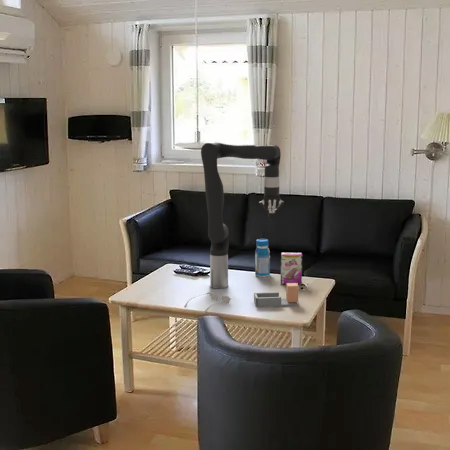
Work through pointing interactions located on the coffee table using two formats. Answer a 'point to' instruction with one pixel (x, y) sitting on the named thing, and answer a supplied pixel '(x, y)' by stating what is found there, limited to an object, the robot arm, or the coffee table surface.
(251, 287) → the coffee table surface
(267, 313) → the coffee table surface
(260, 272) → the beverage bottle
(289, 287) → the block
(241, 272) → the coffee table surface
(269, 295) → the chute
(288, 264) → the candy bar box
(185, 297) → the coffee table surface
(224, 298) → the eyeglasses
